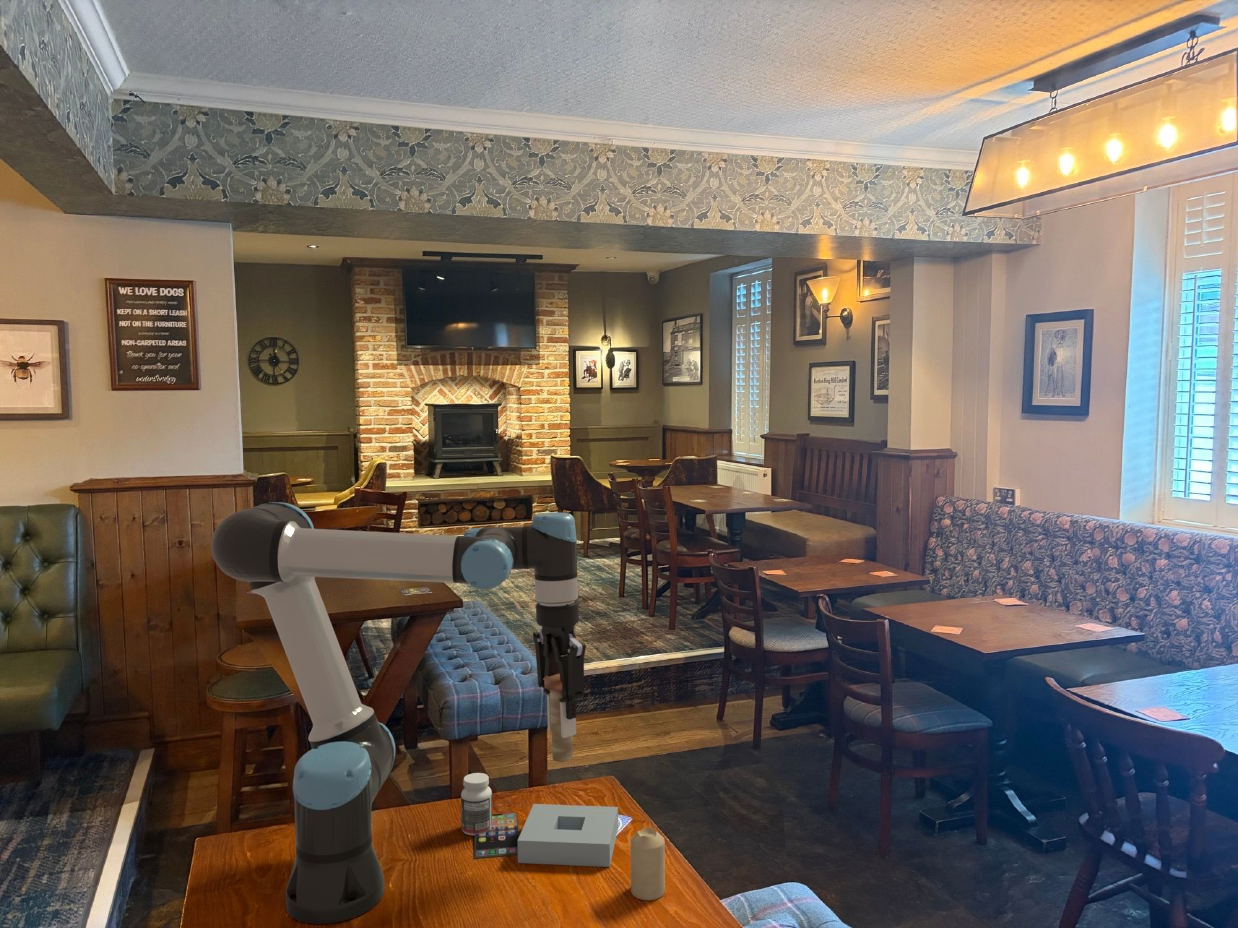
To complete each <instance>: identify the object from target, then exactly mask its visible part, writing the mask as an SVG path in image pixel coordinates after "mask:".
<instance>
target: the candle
mask: <svg viewBox="0 0 1238 928" xmlns="http://www.w3.org/2000/svg"><path fill="white" fill-rule="evenodd" d="M665 843H666V842H665V837H663V835H661V834H660V833H659V832H658V831H657V830H656V829H654V827H644V828H642V829H641V830H637V831H636V833H635V834H634V835H633V836H632V837H631V838H630V891H631V894H632V895H633V897H635V898H636V899H639V900H642V901H656V900H658V899H660V898H661V897H663V896H664V895H665V891H666V872H665V871H666V862H665V860H666V854H665V853H666V849H665V848H666V847H665V845H666V844H665Z"/></svg>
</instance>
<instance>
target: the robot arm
mask: <svg viewBox="0 0 1238 928" xmlns="http://www.w3.org/2000/svg"><path fill="white" fill-rule="evenodd" d="M314 527H315V526H314V524H313V522H312V520H311V518H310V517H309V515H307V513H306V512H305V511H303V510H302V509H301V508H299V506H298V507H297V506H296V505H293V504H291V503H288V502H280V501H279V502H274V501H272V502H271V501H269V502H266V503H261V504H258V505H257V506H254V507H250V508H249V507H248V508H247V509H246V508H245V509H242V510H238V511H236V512H234V513H232V514H230V515H228V516H227V517H225V518H224V519H223V520H222V521H221V522H220V523H219V524H218V525H217V527H216V529H215V530H214V532H213V535H212V539H211V545H210V546H211V555H212V558H213V560H214V562H215V564H216V566H218V568H219V569H220V570H221V571H222V573H224V574H225V575H227V576H229V577H231V578H232V579H235V580H237V581H243V582H247V583H248V586H249V589H250V591H251V593H254V594H257V595H259V596H261V597H263V598H264V600H265V603H266V605H267V608H268V610H269V613H270V615H271V618H272V621H273V623H274V626H275V628H276V631H277V634H278V637H279V640H280V641H281V644H282V646H283V647H282V648H283V649H284V651H285V655H286V658H287V659H288V660H287V661H288V662H289V666H290V667H291V671H292V673H293V676H294V679H295V681H296V683H297V686H298V688H299V689H298V690H299V691H300V694H301V696H302V699H303V701H304V704H305V706H306V710H307V712H308V715H309V717H310V720H311V722H312V728H311V731H310V732H309V734H308V737H307V738H308V741H309V744H310V746H311V749H310V750H308V751H307V752H305V753H304V754H303V755H302V756H301V757H300V758H299V759H298V761H297V762H296V764H295V767H294V769H293V770H294V771H293V772H294V773H293V778H292V779H293V780H292V793H293V804H294V805H293V808H294V810H293V811H294V834H295V859H294V862H293V866H292V869H291V872H290V876H289V878H288V879H289V880H288V883H287V886H286V889H285V910H286V913H287V914H288V915H289V916H290V917H291V918H292V919H294V920H296V921H298V922H301V923H306V924H311V925H312V924H313V925H324V924H325V925H327V924H334V923H339V922H344V921H347V920H351V919H353V918H356V917H359V916H361V915H362V914H364V913H366V912H368V911H369V910H371V909H372V908H374V907H375V906H376V905H377V904H378V903H379V902H380V901H381V900H382V898H383V896H384V893H385V876H384V871H383V870H382V867H381V864H380V861H379V859H378V855H377V853H376V851H375V848H374V846H373V830H372V829H373V828H372V827H373V826H372V807H373V806H372V805H373V802H374V800H375V798H376V797H377V795H378V793H379V791H380V790H381V788H382V786H383V785H384V783H385V782H386V780H387V779H388V778H389V777H390V773H391V771H392V769H393V766H394V763H395V757H396V743H395V739H394V736H393V734H392V733H391V731H390V729H389V728H388V727H387V726H386V725H385V724H384V723H381V722H379V720H378V717H377V716H376V711H374V708H373V707H370V706H367V705H366V704H363V703H362V701H361V699H360V697H359V694H358V690H357V688H356V686H355V683H354V680H353V678H352V675H351V672H350V670H349V668H348V667H349V666H348V664H347V662H346V659H345V656H344V654H343V651H342V648H341V646H340V643H339V641H338V638H337V635H336V633H335V630H334V628H333V624H332V622H331V620H330V617H329V614H328V612H327V609H326V606H325V603H324V600H323V599H322V596H321V593H320V590H319V587H318V585H317V583H316V580H315V579H316V578H331V579H334V578H335V579H336V578H337V579H338V578H339V579H355V580H356V579H358V580H379V581H380V580H381V581H384V580H386V581H402V582H404V581H405V582H408V581H409V582H424V583H426V582H427V583H430V582H431V583H451V584H452V583H453V584H463V585H465V584H466V585H471V587H473V588H475V589H479V590H482V591H483V590H485V591H487V590H493V589H495V588H497V587H498V586H500V585H502V584H503V583H504V582H505V581H506V580H507V579H508V578H509V576H510V575H511V573H512V571H514V570H530V569H531V570H534V596H535V597H534V598H535V601H536V602H537V603H536V604H535V615H536V616H535V621H536V624H537V625H538V626H540V627H541V630H540V631H535V632H533V633H532V639H533V642H534V648H535V659H536V661H535V662H536V673H537V675H536V676H537V685H538V687H539V688H542V689H543V692H544V693H545V699H546V713H547V716H546V717H547V731H548V732H551V733H552V730H551V704H550V690H548V689H546V688H545V682H544V678H545V676H551V675H555V674H560V681H561V682H562V696H563V698H561V699H559V700H560V717H561V737H562V738H566V737H569V736H572V737H573V736H575V735H577V700H579V699H582V698H584V696H585V654H586V649H587V645H586V643H585V642H579V641H578V640H577V635H576V632H575V628H574V627H575V626H576V625H577V624H578V623H579V621H580V605H579V603H580V602H578V601H577V599H578V598H579V592H578V591H579V589H578V587H579V585H578V547H577V544H578V543H577V541H578V540H577V533H576V532H577V531H576V529H577V528H576V520H575V518H574V516H573V515H572V514H570V513H567V512H557V511H556V512H555V511H554V512H544V513H538V514H535V515H533V517H532V521H531V525H524V526H498V527H497V526H494V527H493V526H492V527H491V526H490V527H489V526H488V527H487V526H482V527H479V528H478V527H477V528H476V527H475V528H468V529H466V531H464V534H463V535H461V536H459V535H446V534H445V535H444V534H443V535H442V534H428V533H427V534H425V533H423V534H422V533H409V532H408V533H405V532H404V533H403V532H389V531H388V532H387V531H386V532H384V531H369V530H368V531H366V530H365V531H363V530H343V529H340V530H339V529H326V528H324V529H323V528H314Z"/></svg>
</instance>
